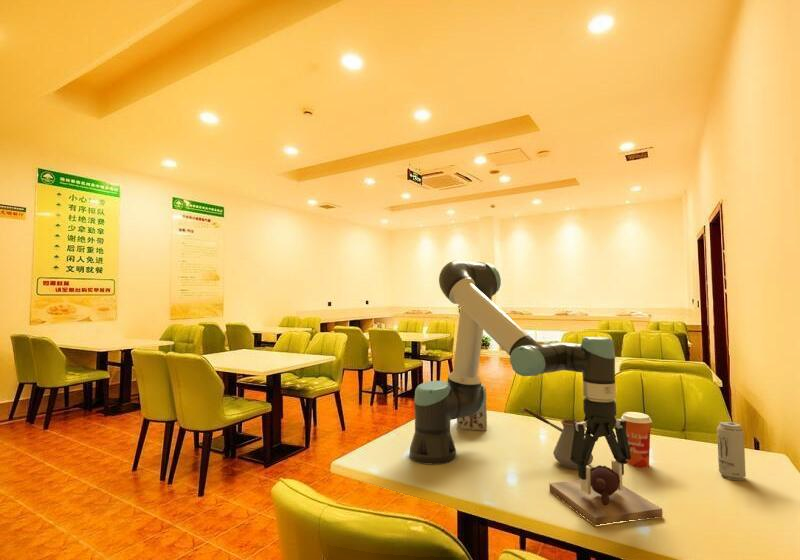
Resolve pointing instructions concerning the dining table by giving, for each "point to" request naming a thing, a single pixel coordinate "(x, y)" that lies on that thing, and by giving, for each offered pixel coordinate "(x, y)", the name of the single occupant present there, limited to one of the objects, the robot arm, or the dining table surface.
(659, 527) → the dining table surface
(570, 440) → the coffee pot
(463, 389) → the robot arm
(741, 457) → the energy drink can
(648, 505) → the serving board
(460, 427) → the decorative jar
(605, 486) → the icecream
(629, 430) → the coffee cup
